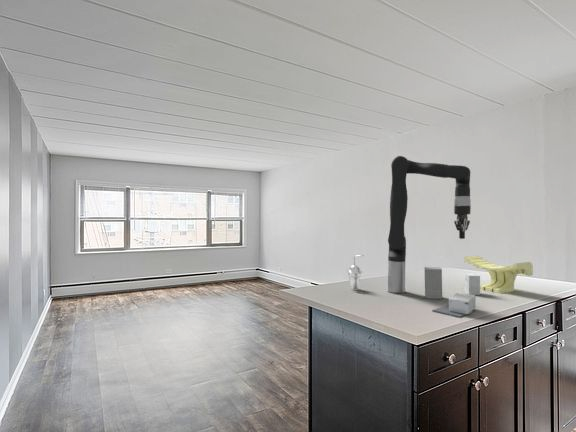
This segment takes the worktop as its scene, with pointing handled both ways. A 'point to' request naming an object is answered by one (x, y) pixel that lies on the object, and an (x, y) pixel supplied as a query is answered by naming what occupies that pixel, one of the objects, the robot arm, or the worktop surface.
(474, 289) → the small box
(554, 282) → the worktop surface
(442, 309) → the mat
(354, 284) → the cup with straw
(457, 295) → the skincare box
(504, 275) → the slatted curved stool
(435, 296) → the skincare box
